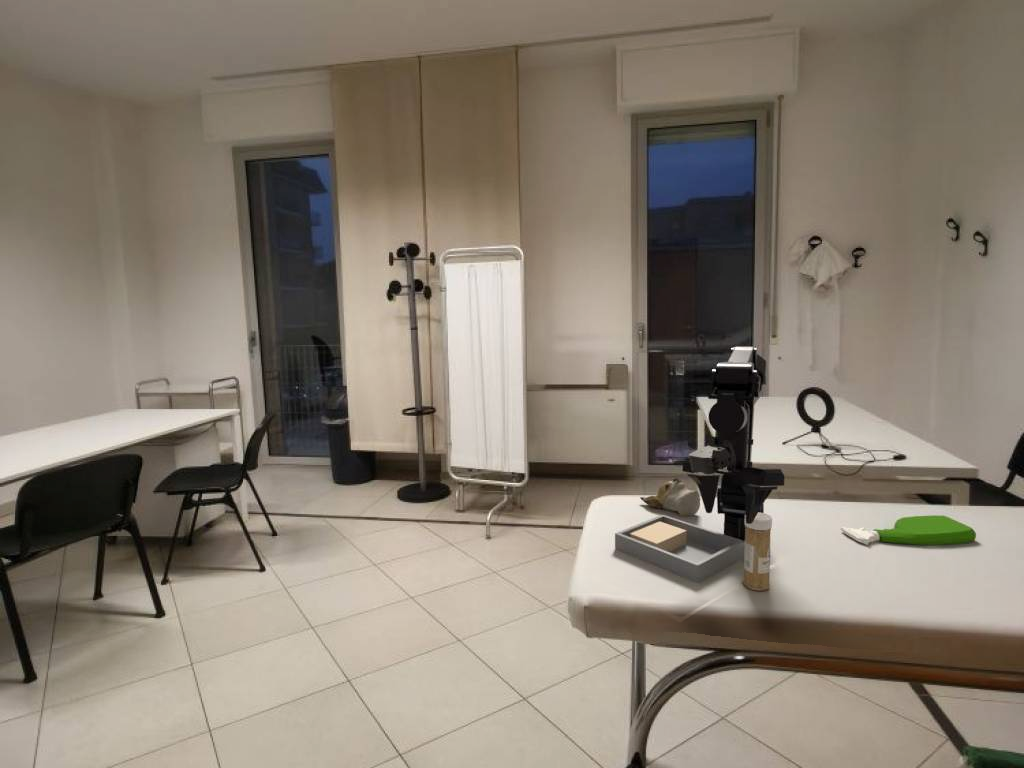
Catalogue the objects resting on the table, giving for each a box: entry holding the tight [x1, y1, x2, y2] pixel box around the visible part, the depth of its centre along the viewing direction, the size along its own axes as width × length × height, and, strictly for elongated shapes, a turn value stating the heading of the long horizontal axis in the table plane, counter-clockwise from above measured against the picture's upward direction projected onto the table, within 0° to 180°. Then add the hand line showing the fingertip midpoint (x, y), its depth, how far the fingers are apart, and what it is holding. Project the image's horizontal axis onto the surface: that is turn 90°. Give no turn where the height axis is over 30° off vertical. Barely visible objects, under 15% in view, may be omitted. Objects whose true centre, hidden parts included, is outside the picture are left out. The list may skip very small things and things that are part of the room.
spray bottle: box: [840, 515, 977, 546], centre depth 126 cm, size 3×11×25 cm
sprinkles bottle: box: [742, 512, 773, 592], centre depth 105 cm, size 5×5×14 cm
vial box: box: [630, 522, 687, 552], centre depth 123 cm, size 10×7×3 cm
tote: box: [614, 514, 745, 584], centre depth 119 cm, size 16×20×4 cm
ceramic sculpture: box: [639, 478, 701, 517], centre depth 144 cm, size 11×9×15 cm
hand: (728, 518), depth 106 cm, fingers open, 9 cm apart
